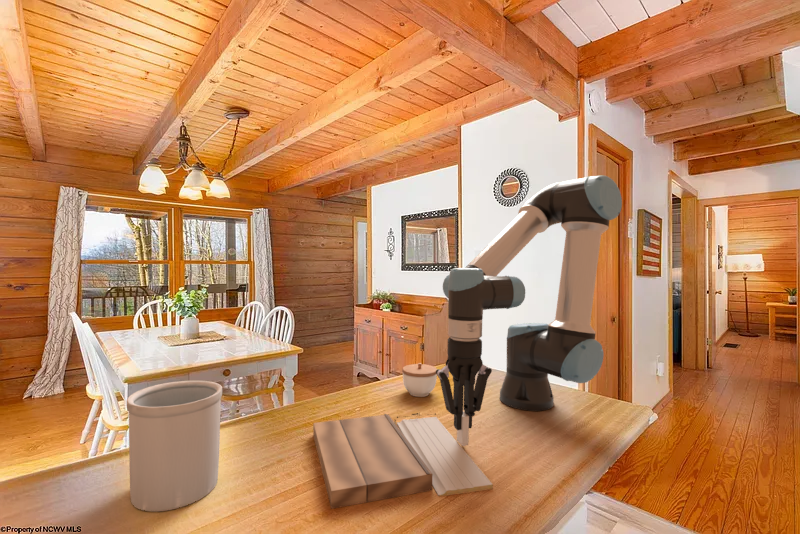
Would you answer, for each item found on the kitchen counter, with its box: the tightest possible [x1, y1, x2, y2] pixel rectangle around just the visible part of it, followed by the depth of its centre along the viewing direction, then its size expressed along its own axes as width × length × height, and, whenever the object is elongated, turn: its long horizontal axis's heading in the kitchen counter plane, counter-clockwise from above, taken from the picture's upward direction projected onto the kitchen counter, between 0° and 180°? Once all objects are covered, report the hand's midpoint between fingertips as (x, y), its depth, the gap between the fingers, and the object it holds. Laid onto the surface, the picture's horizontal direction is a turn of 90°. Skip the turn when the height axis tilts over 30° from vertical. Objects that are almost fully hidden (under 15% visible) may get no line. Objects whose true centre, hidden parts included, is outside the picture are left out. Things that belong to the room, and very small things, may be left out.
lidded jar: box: [402, 362, 438, 398], centre depth 123 cm, size 11×11×9 cm
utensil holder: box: [126, 380, 223, 512], centre depth 71 cm, size 15×15×18 cm
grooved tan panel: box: [313, 413, 433, 509], centre depth 83 cm, size 18×28×3 cm, turn 18°
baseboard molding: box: [393, 412, 494, 497], centre depth 87 cm, size 31×3×12 cm
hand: (462, 442), depth 89 cm, fingers closed
